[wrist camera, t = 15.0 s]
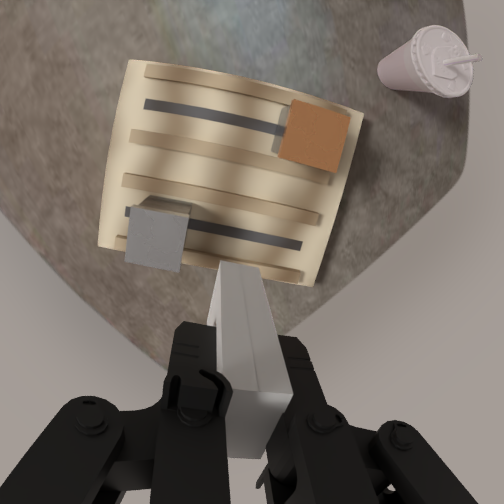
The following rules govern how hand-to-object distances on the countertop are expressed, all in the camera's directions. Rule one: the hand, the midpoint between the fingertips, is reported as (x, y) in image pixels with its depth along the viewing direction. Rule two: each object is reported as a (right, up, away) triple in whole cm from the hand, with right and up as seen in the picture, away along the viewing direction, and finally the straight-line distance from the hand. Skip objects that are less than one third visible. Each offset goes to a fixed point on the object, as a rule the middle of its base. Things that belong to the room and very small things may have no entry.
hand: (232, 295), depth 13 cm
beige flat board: (-2, +9, +17) cm, 20 cm away
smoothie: (+15, +20, +15) cm, 29 cm away
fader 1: (-7, +5, +16) cm, 18 cm away
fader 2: (+5, +12, +14) cm, 19 cm away
